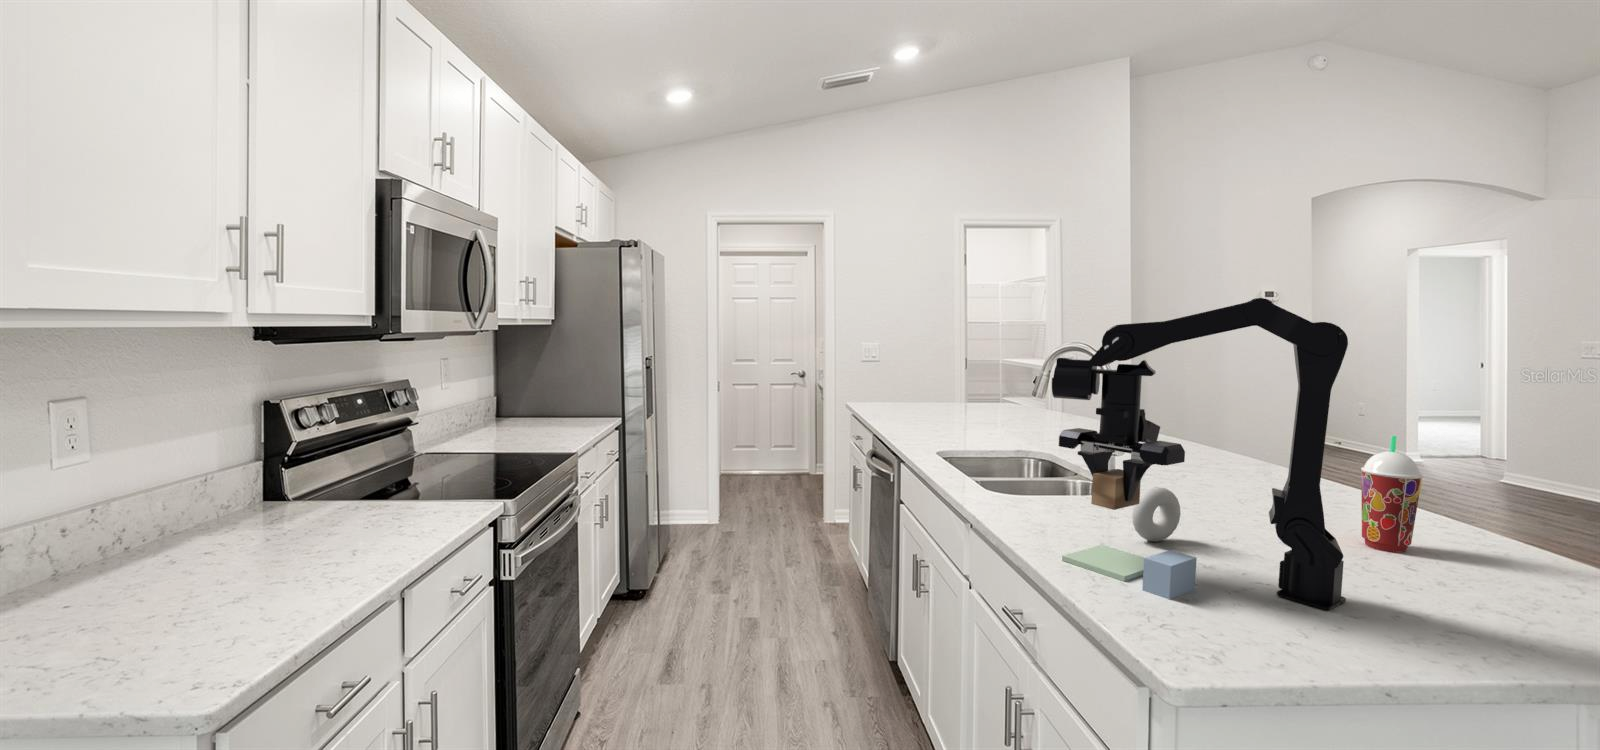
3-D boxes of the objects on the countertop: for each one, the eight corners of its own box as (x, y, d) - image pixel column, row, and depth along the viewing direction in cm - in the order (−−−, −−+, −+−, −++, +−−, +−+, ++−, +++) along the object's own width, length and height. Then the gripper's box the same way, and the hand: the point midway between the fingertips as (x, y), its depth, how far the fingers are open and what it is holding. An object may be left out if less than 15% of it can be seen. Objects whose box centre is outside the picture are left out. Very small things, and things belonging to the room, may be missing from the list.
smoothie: (1429, 555, 121) (1439, 440, 120) (1380, 554, 121) (1389, 439, 120) (1390, 540, 130) (1398, 432, 128) (1344, 539, 130) (1351, 432, 128)
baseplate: (1163, 567, 114) (1163, 563, 114) (1124, 581, 108) (1124, 576, 107) (1101, 549, 123) (1101, 544, 123) (1062, 560, 117) (1062, 555, 117)
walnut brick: (1139, 503, 115) (1140, 473, 114) (1114, 509, 111) (1115, 478, 110) (1116, 498, 118) (1118, 469, 118) (1091, 504, 114) (1092, 473, 114)
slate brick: (1194, 590, 105) (1196, 557, 104) (1169, 600, 101) (1170, 566, 100) (1168, 581, 108) (1169, 549, 108) (1142, 591, 104) (1144, 558, 104)
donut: (1141, 547, 124) (1144, 491, 123) (1126, 541, 127) (1128, 486, 127) (1183, 541, 128) (1186, 487, 127) (1167, 535, 131) (1170, 482, 130)
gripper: (1206, 406, 110) (1200, 504, 111) (1098, 394, 125) (1093, 480, 127) (1167, 410, 104) (1161, 514, 105) (1058, 397, 119) (1054, 488, 120)
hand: (1115, 498), depth 114 cm, fingers closed on walnut brick, 4 cm apart
